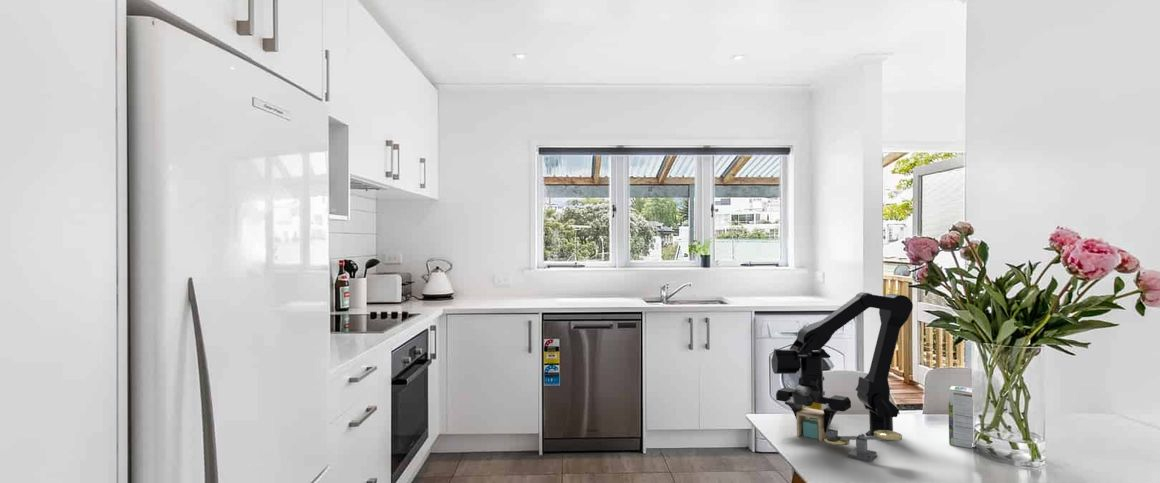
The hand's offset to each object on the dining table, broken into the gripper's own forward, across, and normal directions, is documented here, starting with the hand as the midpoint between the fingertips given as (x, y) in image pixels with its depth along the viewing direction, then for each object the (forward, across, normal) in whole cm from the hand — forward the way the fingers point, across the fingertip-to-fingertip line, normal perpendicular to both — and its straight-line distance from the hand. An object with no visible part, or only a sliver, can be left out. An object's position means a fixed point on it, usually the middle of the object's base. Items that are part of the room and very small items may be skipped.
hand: (813, 429), depth 154 cm
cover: (+2, 0, 0) cm, 2 cm away
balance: (+2, +15, -8) cm, 17 cm away
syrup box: (+2, +32, +18) cm, 37 cm away
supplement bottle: (+2, -6, +15) cm, 16 cm away
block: (+2, 0, 0) cm, 2 cm away
